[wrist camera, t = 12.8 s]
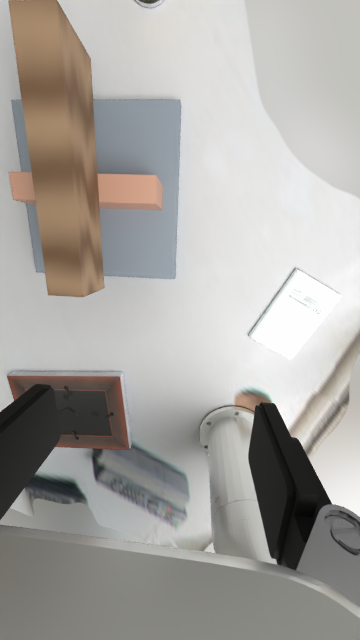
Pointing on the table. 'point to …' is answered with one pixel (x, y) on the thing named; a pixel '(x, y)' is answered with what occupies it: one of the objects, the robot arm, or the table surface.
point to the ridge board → (128, 155)
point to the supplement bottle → (149, 3)
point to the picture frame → (83, 406)
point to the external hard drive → (294, 314)
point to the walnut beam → (60, 144)
